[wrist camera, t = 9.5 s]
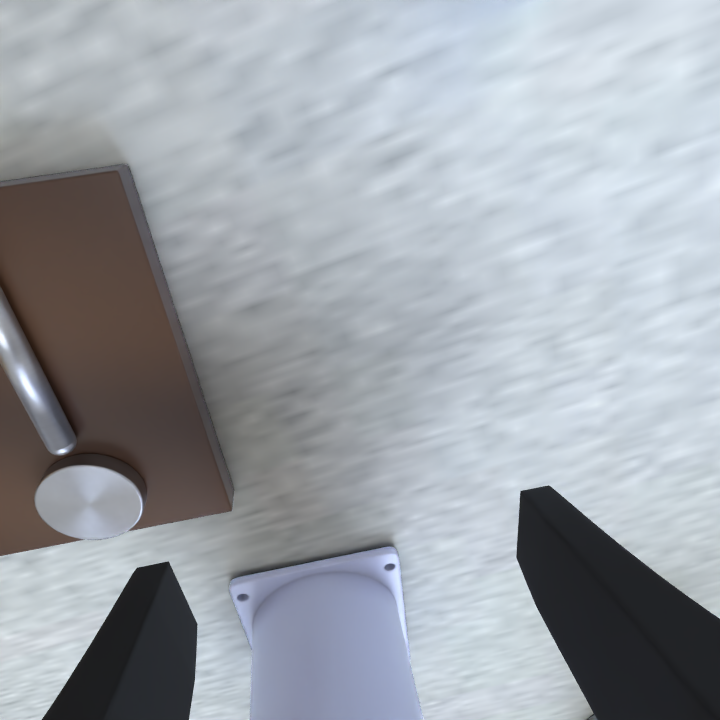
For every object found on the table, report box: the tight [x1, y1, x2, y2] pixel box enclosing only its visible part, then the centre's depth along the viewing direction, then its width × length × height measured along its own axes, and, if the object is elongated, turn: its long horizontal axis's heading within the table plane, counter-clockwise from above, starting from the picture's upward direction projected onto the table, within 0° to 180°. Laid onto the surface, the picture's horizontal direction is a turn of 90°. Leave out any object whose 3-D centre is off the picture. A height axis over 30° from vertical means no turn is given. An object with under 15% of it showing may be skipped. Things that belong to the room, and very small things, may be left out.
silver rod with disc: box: [0, 286, 147, 540], centre depth 16 cm, size 12×4×1 cm, turn 7°
